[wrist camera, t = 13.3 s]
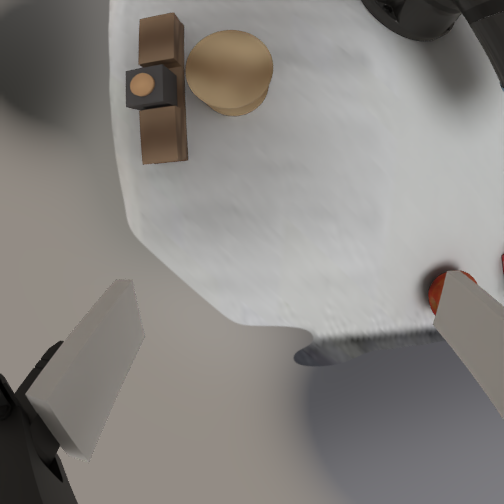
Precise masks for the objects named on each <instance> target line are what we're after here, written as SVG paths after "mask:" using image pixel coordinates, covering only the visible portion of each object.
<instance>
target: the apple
mask: <svg viewBox="0 0 504 504" xmlns="http://www.w3.org/2000/svg"><path fill="white" fill-rule="evenodd" d="M454 271H457V270H454ZM461 272H462V273H463V274H464V275H466V276H467V277H468V278H470V279H471V280H472V281H473V282H475V283H476V284H477V282H476V281H475V279H474V278H473V277H472V276H471V275H470V274H468V273H466V272H464V271H461ZM446 273H447V272H446ZM446 273H443V274H441V275H439V276H438V277H437V278H436V279H435V280H434V281H433V282H432V284H431V286H430V288H429V292H428V297H429V303H430V306H431V309H432V311H433V313H434V315H435V316H436V312H437V309H438V305H439V301H440V297H441V294H442V290H443V286H444V281H445V277H446Z"/></svg>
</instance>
